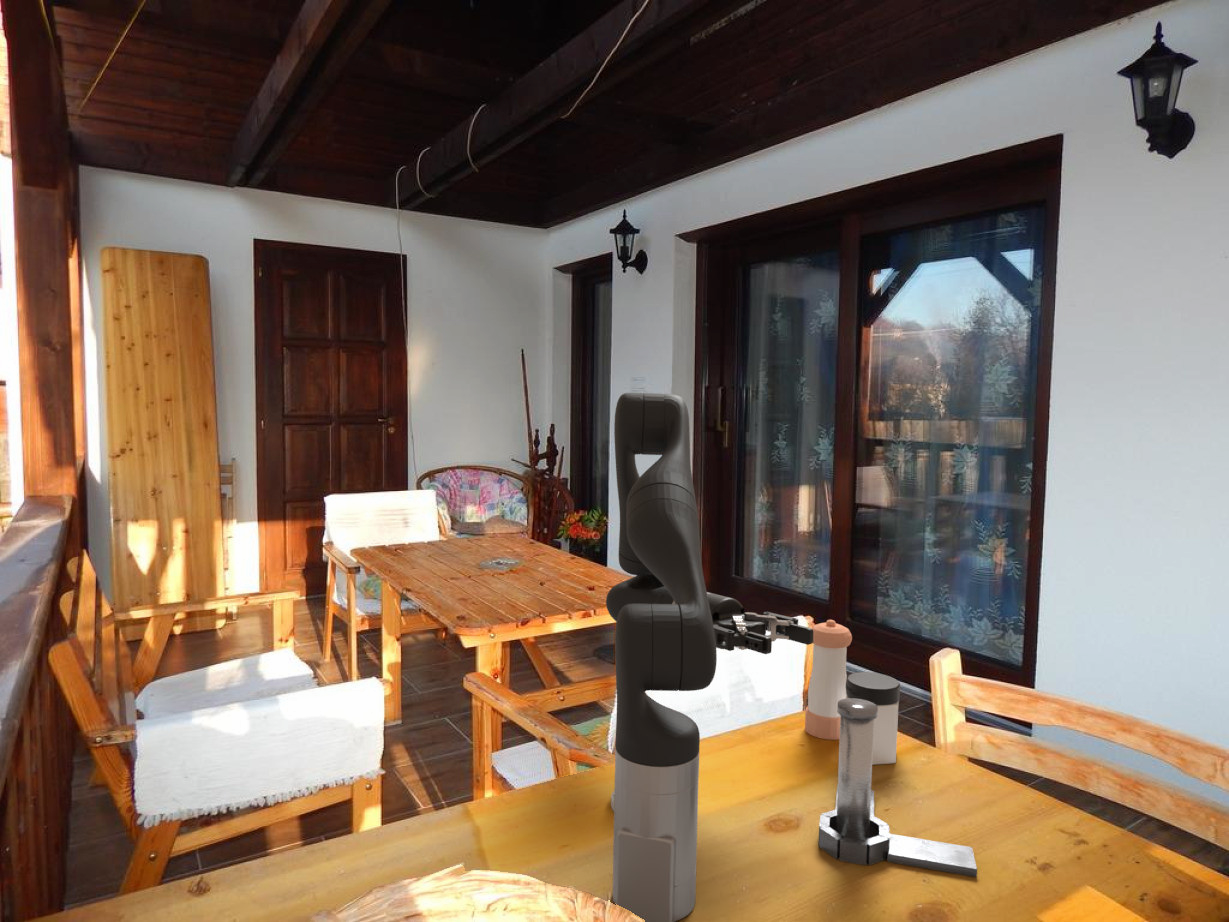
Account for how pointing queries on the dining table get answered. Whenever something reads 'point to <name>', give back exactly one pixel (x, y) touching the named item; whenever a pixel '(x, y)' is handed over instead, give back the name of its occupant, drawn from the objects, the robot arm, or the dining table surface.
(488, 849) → the dining table surface
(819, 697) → the pepper shaker
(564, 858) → the dining table surface
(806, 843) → the dining table surface
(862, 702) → the pin
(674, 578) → the robot arm
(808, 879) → the dining table surface
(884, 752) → the jar
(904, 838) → the box end wrench
